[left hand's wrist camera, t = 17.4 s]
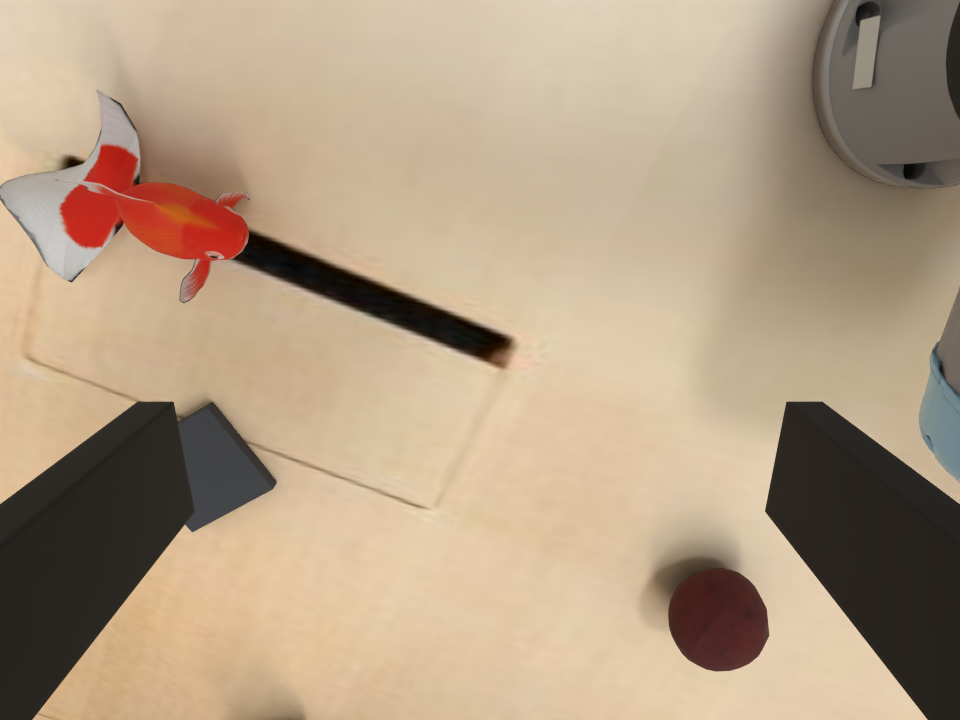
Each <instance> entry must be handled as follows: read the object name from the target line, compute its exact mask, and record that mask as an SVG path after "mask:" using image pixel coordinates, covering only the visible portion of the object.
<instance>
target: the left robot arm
mask: <svg viewBox="0 0 960 720" xmlns="http://www.w3.org/2000/svg"><path fill="white" fill-rule="evenodd" d="M813 92H814V102H815V107H816V113H817V116H818V119H819V123H820V125H821V128H822V130H823V133H824V135H825V137H826V139H827V140H828V142H829V144H830V145H831V147H832V148H833V150H834V151H835V152H836V154H837V155H838V156H839V157H840V158H841V159H842V160H843V161H844V162H845V163H846V164H847V165H848V166H850V167H851V168H852V169H854V170H855V171H857V172H858V173H860V174H861V175H863V176H865V177H867V178H869V179H872V180H874V181H877V182H880V183H884V184H888V185H894V186H903V187H913V188H941V187H948V186H953V185H958V184H960V0H835V2H834V4H833V5H832V8H831V10H830V12H829V14H828V16H827V18H826V21H825V24H824V26H823V29H822V32H821V35H820V39H819V42H818V46H817V51H816V56H815V62H814V72H813ZM930 367H931V371H930V375H929V379H928V383H927V387H926V391H925V394H924V397H923V400H922V404H921V407H920V412H919V426H920V431H921V434H922V437H923V439H924V440H925V442H926V444H927V446H928V448H929V449H930V450H931V451H932V452H933V453H934V454H935V457H936V459H937V461H938V462H939V463H940V464H941V465H942V466H943V467H944V469H945V470H946V471H947V472H948V473H949V474H951V475H952V476H953V477H954V478H955V479H956V480H957V481H959V482H960V288H959V291H958V294H957V297H956V300H955V302H954V305H953V308H952V310H951V313H950V316H949V318H948V321H947V324H946V326H945V329H944V332H943V334H942V337H941V339H940V341H939V342H937V343H936V345H935V347H934V348H933V351H932V354H931V355H930ZM194 512H195V509H194V504H193V499H192V494H191V489H190V484H189V479H188V474H187V468H186V463H185V458H184V453H183V448H182V443H181V438H180V433H179V428H178V422H177V417H176V412H175V407H174V402H137V403H135V404H134V405H133V406H131V407H130V408H129V409H127V410H126V411H125V412H123V413H122V414H121V415H119V416H118V417H117V418H115V419H114V420H113V421H111V422H110V423H109V424H107V425H106V426H105V427H103V428H102V429H101V430H99V431H98V432H97V433H95V434H94V435H92V436H91V437H90V438H88V439H87V440H86V441H84V442H83V443H82V444H80V445H79V446H78V447H76V448H75V449H74V450H72V451H71V452H70V453H68V454H67V455H66V456H64V457H63V458H62V459H60V460H59V461H58V462H56V463H55V464H54V465H52V466H51V467H50V468H48V469H47V470H46V471H44V472H43V473H42V474H40V475H39V476H38V477H36V478H35V479H34V480H32V481H31V482H29V483H28V484H27V485H25V486H24V487H23V488H21V489H20V490H19V491H17V492H16V493H15V494H13V495H12V496H11V497H9V498H8V499H7V500H5V501H4V502H3V503H1V504H0V720H32V719H33V718H34V717H35V715H36V714H37V713H38V712H39V710H40V709H41V708H42V706H43V705H44V704H45V703H46V701H47V700H48V699H49V698H50V696H51V695H52V694H53V692H54V691H55V690H56V689H57V687H58V686H59V685H60V683H61V682H62V681H63V680H64V678H65V677H66V676H67V674H68V673H69V672H70V671H71V669H72V668H73V667H74V666H75V664H76V663H77V662H78V660H79V659H80V658H81V657H82V655H83V654H84V653H85V651H86V650H87V649H88V648H89V646H90V645H91V644H92V642H93V641H94V640H95V639H96V637H97V636H98V635H99V634H100V632H101V631H102V630H103V628H104V627H105V626H106V625H107V623H108V622H109V621H110V619H111V618H112V617H113V616H114V614H115V613H116V612H117V610H118V609H119V608H120V607H121V605H122V604H123V603H124V602H125V600H126V599H127V598H128V596H129V595H130V594H131V593H132V591H133V590H134V589H135V587H136V586H137V585H138V584H139V582H140V581H141V580H142V578H143V577H144V576H145V575H146V573H147V572H148V571H149V570H150V568H151V567H152V566H153V564H154V563H155V562H156V561H157V559H158V558H159V557H160V555H161V554H162V553H163V552H164V550H165V549H166V548H167V546H168V545H169V544H170V543H171V541H172V540H173V539H174V538H175V536H176V535H177V534H178V532H179V531H180V530H181V529H182V527H183V526H184V525H185V523H186V522H187V521H188V520H189V518H190V517H191V516H192V514H193V513H194ZM765 512H766V513H767V514H768V516H769V517H770V518H771V520H772V521H773V522H774V523H775V525H776V526H777V527H778V529H779V530H780V531H781V532H782V534H783V535H784V536H785V538H786V539H787V540H788V541H789V543H790V544H791V545H792V546H793V548H794V549H795V550H796V552H797V553H798V554H799V555H800V557H801V558H802V559H803V561H804V562H805V563H806V564H807V566H808V567H809V568H810V570H811V571H812V572H813V573H814V575H815V576H816V577H817V578H818V580H819V581H820V582H821V584H822V585H823V586H824V587H825V589H826V590H827V591H828V593H829V594H830V595H831V596H832V598H833V599H834V600H835V602H836V603H837V604H838V605H839V607H840V608H841V609H842V610H843V612H844V613H845V614H846V616H847V617H848V618H849V619H850V621H851V622H852V623H853V625H854V626H855V627H856V628H857V630H858V631H859V632H860V634H861V635H862V636H863V637H864V639H865V640H866V641H867V642H868V644H869V645H870V646H871V648H872V649H873V650H874V651H875V653H876V654H877V655H878V657H879V658H880V659H881V660H882V662H883V663H884V664H885V666H886V667H887V668H888V669H889V671H890V672H891V673H892V674H893V676H894V677H895V678H896V680H897V681H898V682H899V683H900V685H901V686H902V687H903V689H904V690H905V691H906V692H907V694H908V695H909V696H910V698H911V699H912V700H913V701H914V703H915V704H916V705H917V706H918V708H919V709H920V710H921V712H922V713H923V714H924V715H925V717H926V718H927V719H928V720H960V504H959V503H957V502H956V501H955V500H953V499H952V498H951V497H949V496H948V495H947V494H945V493H944V492H943V491H941V490H940V489H939V488H937V487H936V486H935V485H933V484H932V483H931V482H929V481H928V480H926V479H925V478H924V477H922V476H921V475H920V474H918V473H917V472H916V471H914V470H913V469H912V468H910V467H909V466H908V465H906V464H905V463H904V462H902V461H901V460H900V459H898V458H897V457H896V456H894V455H893V454H892V453H890V452H889V451H888V450H886V449H885V448H884V447H882V446H881V445H880V444H878V443H877V442H876V441H874V440H873V439H872V438H870V437H869V436H868V435H866V434H865V433H863V432H862V431H861V430H859V429H858V428H857V427H855V426H854V425H853V424H851V423H850V422H849V421H847V420H846V419H845V418H843V417H842V416H841V415H839V414H838V413H837V412H835V411H834V410H833V409H831V408H830V407H829V406H827V405H826V404H825V403H823V402H786V407H785V412H784V417H783V422H782V428H781V433H780V438H779V443H778V448H777V453H776V458H775V463H774V468H773V474H772V479H771V484H770V489H769V494H768V499H767V504H766V509H765Z"/></svg>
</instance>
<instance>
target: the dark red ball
mask: <svg viewBox="0 0 960 720" xmlns="http://www.w3.org/2000/svg"><path fill="white" fill-rule="evenodd" d="M668 617H669V627H670V631H671V635H672V637H673V639H674V641H675V643H676V645H677V646H678V648H679V649H680V651H681V653H682V654H683V655H684V656H685V657H686V658H687V659H688V660H690V661H691V662H693V663H695V664H697V665H698V666H701V667H703V668H705V669H707V670H712V671H731V670H734V669H738V668H741V667H743V666H745V665H747V664H749V663H750V662H752V661H753V660H754V659H755V658H757V657H758V656H759V654H760V653H761V651H762V649H763V647H764V645H765V643H766V641H767V639H768V637H769V628H768V618H767V609H766V607H765V605H764V603H763V601H762V599H761V597H760V595H759V593H758V591H757V590H756V588H755V586H754V585H753V584H752V583H751V582H750V581H749V580H748V579H747V578H745V577H744V576H743V575H741V574H740V573H738V572H735V571H732V570H728V569H723V568H718V569H708V570H705V571H703V572H700V573H697V574H694V575H692V576H691V577H689V578H688V579H686V580H685V581H684V582H682V583H681V584H680V585H679V586H678V588H677V589H676V591H675V593H674V594H673V596H672V598H671V601H670V605H669V613H668Z"/></svg>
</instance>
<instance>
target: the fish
mask: <svg viewBox="0 0 960 720" xmlns="http://www.w3.org/2000/svg"><path fill="white" fill-rule="evenodd" d="M97 93H98V96H99V102H100V109H101V122H102V126H101V131H100V134H99V138H98V141H97V144H96V147H95V149H94V150H93V152H92V153H91V155H90V156H89V158H88V159H87V160H86V161H85V163H84V164H80V165H77V166H74V167H70V168H67V169H63V170H59V171H53V172H43V173H36V174H29V175H25V176H21V177H18V178H15V179H11V180H8V181H6V182H5V183H3V184H2V185H1V186H0V200H1V201H2V203H3V204H4V205H5V207H6V208H7V209H8V211H9V212H10V213H11V214H12V215H13V217H14V218H15V219H16V220H17V221H18V223H19V224H20V225H21V226H22V228H23V229H24V231H25V232H26V233H27V235H28V236H29V237H30V239H31V240H32V242H33V243H34V244H35V246H36V248H37V249H38V251H39V253H40V255H41V257H42V258H43V260H44V262H45V264H46V266H48V267H49V268H50V269H51V270H53V271H54V272H55V273H57V274H58V275H59V276H61V277H62V278H63V279H64V280H67V281H70V282H73V280H74V279H75V278H76V277H77V276H78V275H79V274H80V273H81V272H82V271H83V270H84V269H85V268H86V267H87V266H88V265H89V264H90V263H91V262H92V261H93V260H94V259H95V258H96V256H97V255H98V254H99V253H100V252H101V251H102V250H103V248H104V247H105V246H106V245H107V244H108V243H109V241H110V240H111V239H112V238H113V237H114V235H115V234H116V233H117V232H118V231H119V229H120V228H121V227H122V225H123V223H125V225H126V227H127V228H128V230H129V231H130V232H131V233H132V234H133V235H134V236H135V237H136V238H138V239H139V240H140V241H142V242H143V243H144V244H146V245H147V246H149V247H150V248H152V249H154V250H155V251H158V252H160V253H163V254H167V255H170V256H173V257H177V258H181V259H196V260H195V263H194V266H193V269H192V270H191V271H190V272H189V273H188V274H187V275H186V276H185V277H184V279H183V280H182V283H181V289H180V299H179V300H180V301H181V302H182V303H185V302H188V301H190V300H191V299H192V298H193V297H194V296H195V295H196V293H197V292H198V290H199V289H200V288H202V287H203V286H204V284H205V281H206V279H207V277H208V275H209V271H210V265H211V260H212V261H214V260H228V259H231V258H234V257H235V256H236V255H238V254H239V253H240V252H242V251H243V249H244V247H245V246H246V244H247V242H248V236H249V233H248V227H247V224H246V222H245V221H244V219H243V218H242V217H241V216H240V215H239V214H238V213H237V211H235V210H234V209H233V208H234V207H235V206H236V205H237V204H238V202H239V201H240V200H241V199H242V198H244V197H247V199H248V200H250V199H249V196H248V193H245V192H228V193H223V194H221V195H219V196H218V198H217V199H216V202H214V201H212V200H210V199H206V198H204V197H203V196H201V195H200V194H198V193H196V192H194V191H192V190H189V189H187V188H185V187H182V186H178V185H175V184H168V183H143V184H139V178H140V149H139V142H138V137H137V131H136V129H135V127H134V125H133V123H132V122H131V120H130V118H129V117H128V115H127V113H126V112H125V110H124V108H123V107H122V105H121V104H120V103H119V102H117V101H115V100H113V99H112V98H110V97H108V96H107V95H105V94H103V93H101V92H100V91H98V90H97Z"/></svg>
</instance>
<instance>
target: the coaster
mask: <svg viewBox="0 0 960 720" xmlns="http://www.w3.org/2000/svg"><path fill="white" fill-rule="evenodd" d="M178 428H179V433H180V438H181V443H182V448H183V453H184V458H185V463H186V468H187V474H188V479H189V484H190V489H191V494H192V499H193V504H194V509H195V512H194V513H193V514H192V516H191V517H190V518H189V520H188V521H187V522H186V523H185V525H186V526H187V527H188V528H189V529H190V530H191V531H192V532H194V531H196V530H198V529H199V528H201V527H203V526H205V525H207V524H209V523H211V522H212V521H214V520H216V519H218V518H220V517H222V516H224V515H225V514H227V513H229V512H231V511H233V510H235V509H237V508H239V507H240V506H242V505H244V504H246V503H248V502H250V501H252V500H253V499H255V498H257V497H259V496H261V495H263V494H265V493H266V492H268V491H270V490H272V489H273V488H274V486H275V485H276V483H277V482H276V481H275V479H274V478H273V477H272V476H271V474H270V473H269V472H268V471H267V469H266V468H265V467H264V466H263V464H262V463H261V462H260V461H259V459H258V458H257V457H256V456H255V454H254V453H253V452H252V451H251V449H250V448H249V447H248V446H247V444H246V443H245V442H244V441H243V439H242V438H241V437H240V436H239V434H238V433H237V432H236V431H235V430H234V428H233V427H232V426H231V425H230V423H229V422H228V421H227V420H226V418H225V417H224V416H223V415H222V413H221V412H220V411H219V410H218V408H217V407H216V406H215V405H214V403H210V404H208V405H207V406H205V407H203V408H201V409H200V410H198V411H196V412H195V413H193V414H191V415H189V416H188V417H186V418H184V419H182V420H181V421H179V422H178Z"/></svg>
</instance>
